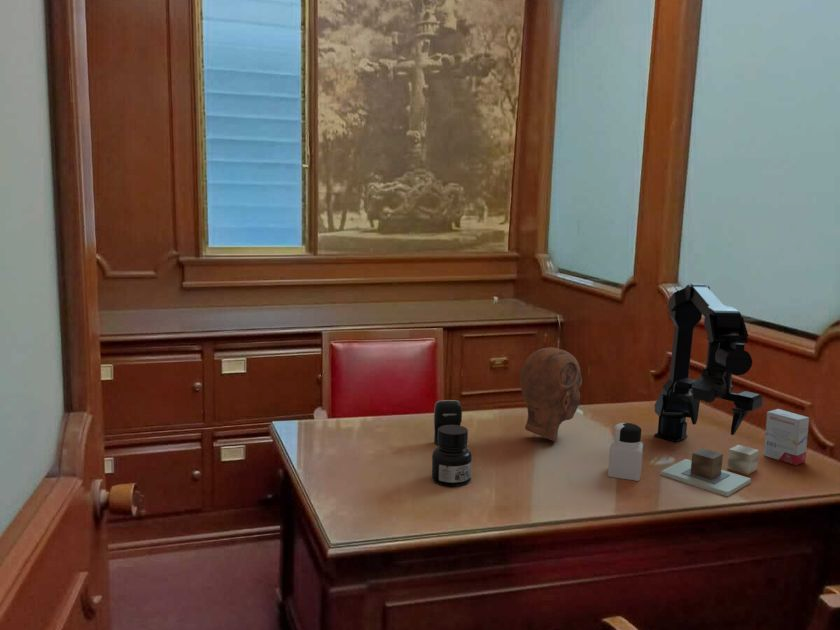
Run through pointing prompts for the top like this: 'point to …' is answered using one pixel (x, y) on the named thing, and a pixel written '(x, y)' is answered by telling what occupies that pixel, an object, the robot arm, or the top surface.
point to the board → (720, 484)
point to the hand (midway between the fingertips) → (713, 429)
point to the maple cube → (743, 459)
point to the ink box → (786, 436)
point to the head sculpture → (550, 390)
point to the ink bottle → (452, 456)
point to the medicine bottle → (626, 452)
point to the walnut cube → (706, 463)
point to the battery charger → (446, 415)
